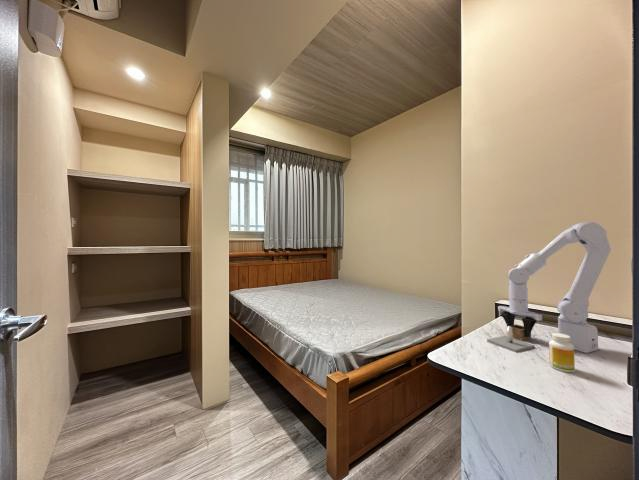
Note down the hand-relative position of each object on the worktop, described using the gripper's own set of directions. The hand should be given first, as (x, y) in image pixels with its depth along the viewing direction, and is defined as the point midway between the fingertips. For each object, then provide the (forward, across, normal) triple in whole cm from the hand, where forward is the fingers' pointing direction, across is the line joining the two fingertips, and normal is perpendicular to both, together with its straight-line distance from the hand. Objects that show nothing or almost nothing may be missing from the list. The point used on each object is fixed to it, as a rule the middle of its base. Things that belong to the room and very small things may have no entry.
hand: (519, 333), depth 98 cm
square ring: (+1, 0, 0) cm, 1 cm away
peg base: (+1, +3, -10) cm, 11 cm away
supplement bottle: (+2, +20, -14) cm, 24 cm away
